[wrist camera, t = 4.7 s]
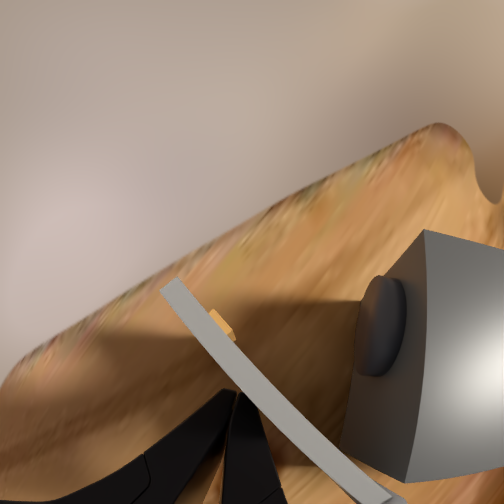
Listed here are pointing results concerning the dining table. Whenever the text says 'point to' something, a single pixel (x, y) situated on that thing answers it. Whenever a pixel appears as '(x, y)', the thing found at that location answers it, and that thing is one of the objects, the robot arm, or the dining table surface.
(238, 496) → the robot arm
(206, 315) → the side door
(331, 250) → the dining table surface
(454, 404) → the camera body
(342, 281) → the dining table surface
